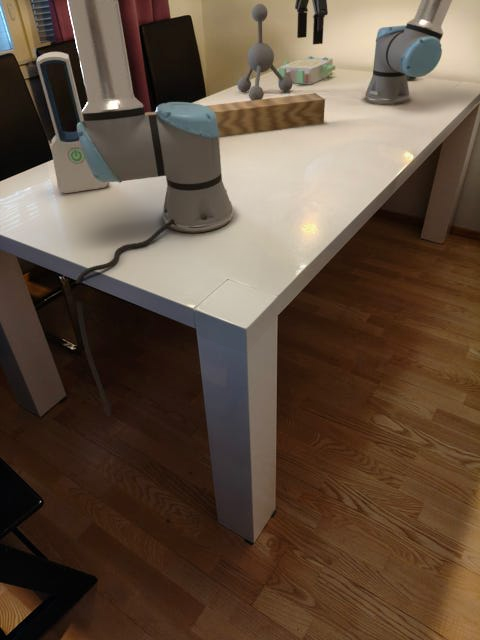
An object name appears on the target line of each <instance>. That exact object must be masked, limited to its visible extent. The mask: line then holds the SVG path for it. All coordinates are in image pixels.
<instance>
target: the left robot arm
mask: <svg viewBox="0 0 480 640" xmlns="http://www.w3.org/2000/svg"><path fill="white" fill-rule="evenodd" d="M66 1H67V7H68V12H69V16H70V21H71V26H72V29H73V30H72V31H73V35H74V40H75V45H76V49H77V50H76V51H77V54H78V59H79V60H78V61H79V64H80V69H81V74H82V79H83V84H84V89H85V94H86V99H87V102H86V104H85V105H84V107H83V109H81V110H82V115H83V120H84V122H83V121H80V122H79V123H78V122H77V124H76V131H77V132H78V135H79V140H80V144H81V147H82V150H83V153H84V156H85V158H86V161H87V163H88V166H89V168H90V170H91V172H92V174H93V176H94V177H95V178H96V179H97V180H98V181H100V182H104V183H106V182H109V183H123V182H126V181H134V180H143V179H150V178H151V179H152V178H158V177H165V180H166V190H165V191H166V192H165V196H164V203H163V207H162V218H163V222H164V225H162V227H160V228H159V229H157V230H156V231H155V232H154V233H153V234H152V235H151V236H150V237H149V238H147V239H146V240H143V241H140V242H136V243H128V244H124V245H122V246H119V247H118V248H117V249H116V250H115V252H114V255H113V258H112V259H111V260H110V261H109V262H106V263H101V264H98V265H94V266H90V267H88V268H86V269H85V270H83V271H82V272H81V273H80V274H79V275H78V277H77V279H76V281H75V284H80V283H82V281H83V279H84V278H85V277H86V276H87V275H89V274H90V273H92V272H96V271H101V270H105V269H108V268H111V267H112V266H114V265H115V264H116V263H117V262H118V260H119V256H120V254H121V252H123V251H125V250H129V249H135V248H140V247H144V246H146V245H148V244H151V243H152V242H153V241H154V240H155V239H157V238H158V236H159V235H160V234H162V233H163V232H164V231H166V230H167V229H168V228H169V229H171V230H173V231H177V232H180V233H190V234H191V233H192V234H193V233H194V234H195V233H196V234H197V233H205V232H206V233H207V232H210V231H215V230H216V229H220V228H222V227H224V226H226V225H227V224H228V223H230V221H231V220H232V218H233V216H234V212H233V211H234V210H233V205H232V201H231V200H230V197H229V195H228V190H227V189H226V187H225V184H224V182H223V175H222V174H223V173H222V164H221V149H220V148H221V147H220V137H219V136H220V133H219V131H218V124H217V117H216V115H215V113H214V112H213V111H212V110H211V109H210V108H208V107H206V106H207V105H203V104H199V103H194V102H186V101H168V102H163V103H160V104H158V105H157V106H156V109H155V111H154V112H156V114H154V115H145V113H146V112H145V105H144V104H143V103H142V102H141V101H140V100H138V99H137V97H135V94H134V89H133V88H134V87H133V82H132V75H131V70H130V65H129V64H130V63H129V59H128V52H127V47H126V41H125V40H126V39H125V36H124V35H125V34H124V29H123V22H122V17H121V16H122V15H121V11H120V4H119V0H66ZM148 116H149V117H148ZM76 308H77V316H78V323H79V329H80V334H81V339H82V343H83V347H84V350H85V351H84V352H85V354H86V357H87V361H88V364H89V367H90V369H91V373H92V376H93V378H94V380H95V381H94V382H95V383H96V386H97V389H98V391H99V394H100V398H101V400H102V403H103V407H104V410H105V413H106V416H107V417H110V416H112V414H111V410H110V406H109V403H108V400H107V397H106V393H105V391H104V388H103V385H102V382H101V379H100V376H99V373H98V371H97V368H96V365H95V362H94V359H93V355H92V352H91V348H90V346H89V340H88V336H87V332H86V331H87V330H86V327H85V320H84V313H83V312H84V311H83V303H82V301H78V300H76Z"/></svg>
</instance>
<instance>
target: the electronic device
mask: <svg viewBox="0 0 480 640" xmlns="http://www.w3.org/2000/svg"><path fill="white" fill-rule="evenodd" d="M55 63H57V64H62V65H63V68H64V72H65V77H66V81H67V85H68V89H69V93H70V97H71V101H72V104H73V105H72V106H73V109H74V113H75V117H76V121H77V124H78V123H79V122H80V121H83V122H84V120H83V115H82V110H83V109H82V107H81V102H80V99H79V94H78V89H77V86H76V81H75V77H74V73H73V69H72V64H71V59H70V56H69V54H68V53H65V52H62V51H49V52H46V53H42V54H41V55H40V56H38V57H37V59H36V62H35V64H36V67H37V71H38V75H39V79H40V82H41V86H42V90H43V93H44V96H45V101H46V104H47V108H48V111H49V115H50V119H51V122H52V126H53V129H54V133H55V135H54V136H53V137H52V139H51V144H50V150H51V155H52V156H51V157H52V161H53V166H54V173H55V178H56V184H57V188H58V190H59V191H60V192H62V193H63V194H69V193H76V192H77V193H78V192H83V191H90V190H98V189H103V188H107V187H108V184H109V183H110V182H106V183H104V182H100V181H98V180H97V179H96V178H95V177H94V176H93V174H92V172H91V170H90V168H89V166H88V163H87V161H86V158H85V156H84V153H83V150H82V147H81V144H80V140H79V135H78V132H77V130H75V131H64V130H63V127H62V122H61V119H60V115H59V111H58V108H57V104H56V100H55V96H54V93H53V90H52V85H51V81H50V78H49V74H48V73H49V72H48V71H47V66H46V65H49V64H55Z"/></svg>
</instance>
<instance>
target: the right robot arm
mask: <svg viewBox="0 0 480 640" xmlns="http://www.w3.org/2000/svg"><path fill="white" fill-rule="evenodd" d="M327 1H328V0H311V2H312V7H313V11H314V14H313V16H312V18H313V26H312V27H313V28H312V45H323V43H324V42H323V41H324V25H325V23H324V21H325V17H326V16H328V13H329V11H328V10H329V9H328V2H327ZM309 2H310V0H295V5H294V9H295V10H296V12H297V29H296V30H297V33H296V37H297V38H298V39H301V38H307V32H308V31H307V30H308V13H309V9H308V5H309ZM452 2H453V0H421V1H420V3H419V5H418V8H417V10H416V13H415V16H414V17H413V18H412V19H411V20H409V21H407V23H406V24H405V25H394V26H393V25H392V26H384V27H380V28H379V29H378V31H377V34H376V39H375V49H374V58H373V69H372V75H371V79H370V82H369V83H368V85H367V89H366V91H365V93H364V94H365V95H364V96H365V97H364V100H365V101H366V102H367V103H370V104H373V105H384V106H386V105H387V106H390V105H391V106H392V105H393V106H394V105H401V104H404V103H407V102H408V101H409V99H410V88H409V83H408V82H409V81H408V80H407V76H410V77H417V78H422V77H425V76H426V75H428V74H430V73H431V72H433V70H435V68H436V67H437V66H438V64H439V62H440V60H441V59H442V53H443V48H442V43H441V41H442V38H443V35H444V32H443V29H442V26H443V23H444V21H445V18H446V16H447V14H448V11H449V9H450V7H451V5H452Z"/></svg>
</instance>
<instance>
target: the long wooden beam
mask: <svg viewBox="0 0 480 640" xmlns="http://www.w3.org/2000/svg"><path fill="white" fill-rule="evenodd" d="M325 105H326V98H324V97H322V96H320V95H319V94H317V93H316V92H311V93H304V94H303V93H302V94H296V95H287V96H279V97H269V98H262V99H260V100H251V99H250V100H243V101H235V102H227V103H226V102H225V103H217V104H209V105H208V104H207V105H205V106H206V107H208V108H210V109H211V110H212V111H213V112H214V113H215V115H216V117H217V124H218V131H219V133H220V136H219V138H222V137H223V138H224V137H230V136H238V135H245V134H254V133H261V132H269V131H277V130H283V129H293V128H300V127H309V126H316V125H324V124H325V107H326V106H325ZM154 114H156V112H155V111H147V112H145V115H154ZM148 117H149V116H148Z"/></svg>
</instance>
